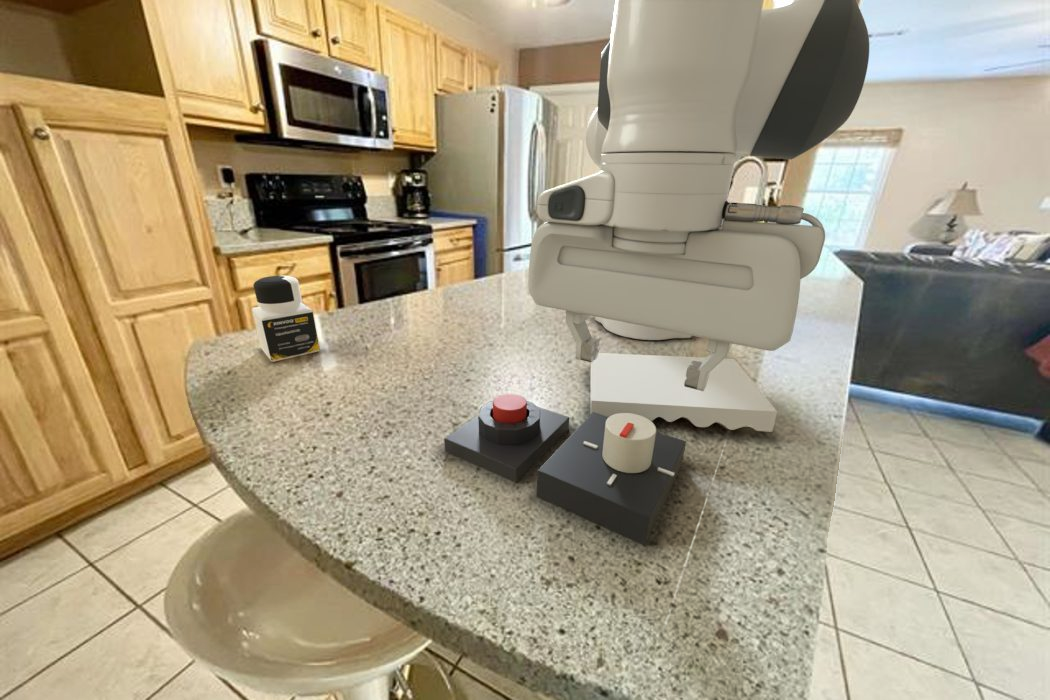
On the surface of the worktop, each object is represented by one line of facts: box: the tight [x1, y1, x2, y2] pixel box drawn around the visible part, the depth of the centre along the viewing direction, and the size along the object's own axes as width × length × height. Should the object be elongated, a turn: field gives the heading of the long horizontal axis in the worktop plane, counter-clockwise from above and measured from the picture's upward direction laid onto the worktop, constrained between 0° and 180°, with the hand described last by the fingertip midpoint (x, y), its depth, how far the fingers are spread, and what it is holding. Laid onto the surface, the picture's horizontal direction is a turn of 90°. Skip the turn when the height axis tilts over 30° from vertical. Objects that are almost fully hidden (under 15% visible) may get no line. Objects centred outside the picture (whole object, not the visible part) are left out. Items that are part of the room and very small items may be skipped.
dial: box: [602, 413, 657, 473], centre depth 38 cm, size 4×4×4 cm
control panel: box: [536, 412, 687, 546], centre depth 40 cm, size 12×10×3 cm
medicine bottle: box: [251, 275, 321, 363], centre depth 66 cm, size 7×7×12 cm
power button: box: [492, 393, 528, 424], centre depth 45 cm, size 4×4×2 cm
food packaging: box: [589, 352, 778, 433], centre depth 54 cm, size 15×3×20 cm
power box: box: [443, 400, 570, 484], centre depth 45 cm, size 11×9×4 cm
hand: (637, 371), depth 36 cm, fingers open, 8 cm apart
